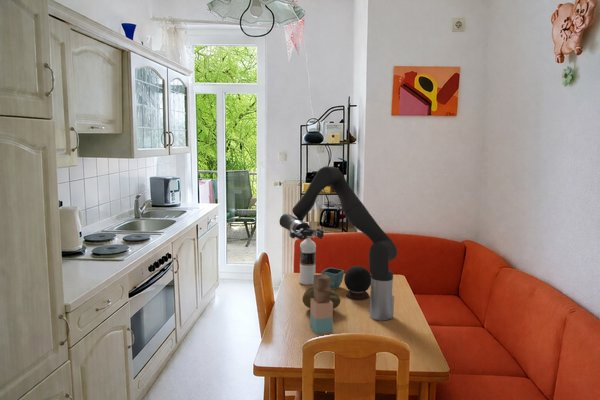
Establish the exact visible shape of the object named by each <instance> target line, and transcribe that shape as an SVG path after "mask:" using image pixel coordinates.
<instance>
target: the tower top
mask: <svg viewBox="0 0 600 400" xmlns="http://www.w3.org/2000/svg"><path fill="white" fill-rule="evenodd" d="M309 309H310V312H309V314H310V313H311V314H312V315H313V316H314V318H315V319H324V318H333V319H334V309H333V302H332V301H331V300H330V302H327V303H317V302H316V301H315V300H314V298H311V306H310V308H309Z"/></svg>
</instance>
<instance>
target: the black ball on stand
mask: <svg viewBox="0 0 600 400" xmlns="http://www.w3.org/2000/svg"><path fill="white" fill-rule="evenodd" d="M343 282H344V285H345V287H346V288H347V289H348V291H347V292H346V293H345V298H347V299H349V300H352V301H353V300H354V301H365V299H366V300H368V299H369V298H370V294H369V293H368V292H367V291H368V290H370V288H371V273H370V270H368V269H367V268H365V267H364V266H361V265H354V266H351V267H349V268H348V269H347V270H346V272H344V275H343Z"/></svg>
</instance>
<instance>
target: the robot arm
mask: <svg viewBox="0 0 600 400" xmlns="http://www.w3.org/2000/svg"><path fill="white" fill-rule="evenodd" d="M327 187H330V188H331V189H332V190H333V191H334V192H335V194H336V195H337V197H338V198H339V202H340V206H341V210H342V212H343V214H344V215H345V217H346V219H348V221H349V222H350V224H351V225H352V226H353V227H354V228H356V229H357V230H358V231H360V232H361V233H362V234H364V235H366V236H367V237H368V239H369V240H370V241H371V242H372V244H371V246H370V247H369V250H368V267H369V268H368V269H369V270H368V271H369V273H370V274H371V285H370V294H369V298H370V299H369V317H370V318H371V319H373V320H376V321H389V320H391V319H393V318H394V315H395V314H394V307H395V296H394V295H393V287H394V286H393V283H394V281H393V280H394V272H393V271H392V270H391V269H389V263H390V262H391V261H393V260H394V259H396V257H397V256H398V248H397V246H396V243H395V242H394V241H393V240H392V239H391V237H390V236H388V234H387V233H385V232H384V231H385V230H383V229H382V228H381V227H380V225H379V224H378V223H377V221H376V220H375V218H374V217H373V216H372V215H371V214H370V212H369V210H368V209H367V208H366V206H365V204H363V202H362V201H361V200H360V198H359V197H358V196H357V194H356V193H355V192H354V191H353V189H352V188H351V187H350V185H349V183H348V181H347V180H346V178H345V176H344V175H343V173H342V172H341V170H340V168H337V167H335V166H327V165H325V166H322V167H320V168H319V169H318V170H317V172H316V174H315V175H314V177H313V179H312V181H311V182H310V184H309V185H308V187H307V189H306V191H305V192H304V193H303V195H302V196H301V198H300V199H299V200H298V201H297V203H295V205H294V206H293V207H292V210H291V211H292V213H293V215H294V216H293V215H292V214H290V213H283V214H282V215H281V216H280V218H279V226H280V227H281V228H284V229H286V230H287V231H289V237H290V238H291V239H299V240H300V241H304V240H305V239H306V238H308V237H310V238H313V239H314V238H317V239H322V238H324V237H325V235H324V230H322V229H320V228H319V227H317V228H316V229H315V228H314V229H313V228H311V226H310V225H309V224H308V223H307V222H305V221H303V220H304V219H305V218H306V216H307V215H308V214H309V213H310V211H311V210H312V208H313V207H314V205H315V204H316V201H317V197H318V196H319V194H320V193H321V192H322V191H323V190H324V189H325V188H327ZM322 240H323V239H322Z"/></svg>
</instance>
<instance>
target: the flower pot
mask: <svg viewBox="0 0 600 400" xmlns="http://www.w3.org/2000/svg"><path fill="white" fill-rule="evenodd" d="M321 274H326V275H328V276H329V277H330V290H336V289H338V288H339V287H340V286H341V284H342V283H343V281H344V276H345V270H343V269H339V268H334V267H328V268H326V269H323V270H322V271H321Z"/></svg>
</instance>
